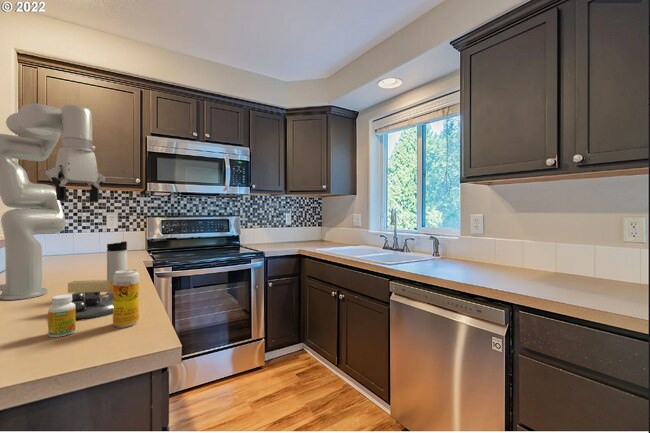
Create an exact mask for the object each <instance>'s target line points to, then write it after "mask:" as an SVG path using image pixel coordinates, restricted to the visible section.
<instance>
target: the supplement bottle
mask: <svg viewBox="0 0 650 433" xmlns="http://www.w3.org/2000/svg"><path fill="white" fill-rule="evenodd" d="M71 301H72V294H71V293H68V294H66V293H65V294H60V295H59V294H58V295H54V296H52V297H51V305H50V306H49V307H48V309H47V310H48V311H47V313H48V314H47V319H48V321H47V322H48V324H47V325H48V328H47V330H48V331H47V333H48V334H47V335H48V337H50V338H60V337H61V338H62V336H63V337H66V335H67V336H69V334H70V335H72V334H74V333H75V332H76V320H75V310H76V307H75V304H74V303H72V302H71Z"/></svg>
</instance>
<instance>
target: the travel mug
mask: <svg viewBox="0 0 650 433" xmlns="http://www.w3.org/2000/svg"><path fill="white" fill-rule="evenodd" d="M106 248H107V250H106V280H113V276H114V274H115V272H116V271H120V270H128V242H127V241H121V242H114V243H107V244H106ZM106 295H109V296H113V292H106Z"/></svg>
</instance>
